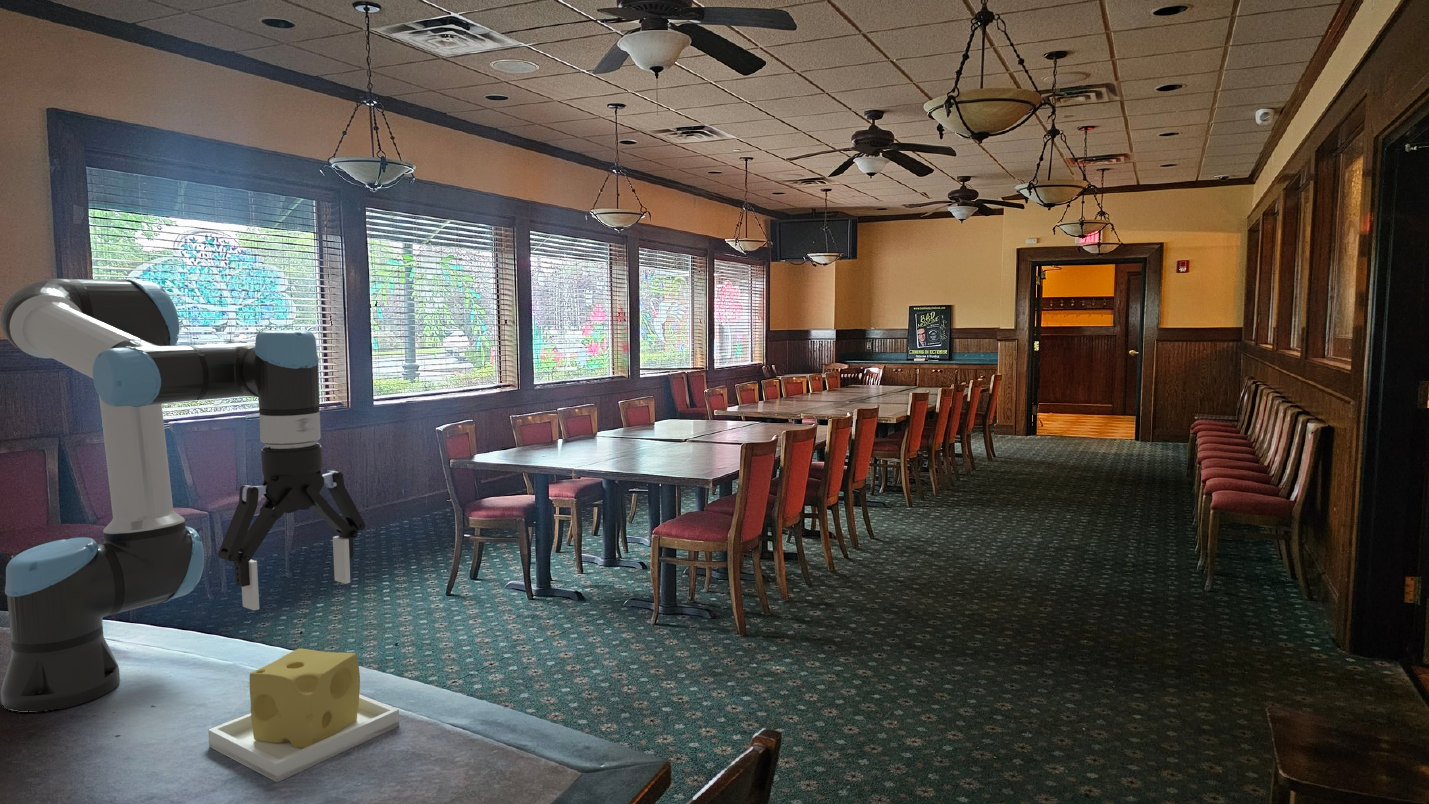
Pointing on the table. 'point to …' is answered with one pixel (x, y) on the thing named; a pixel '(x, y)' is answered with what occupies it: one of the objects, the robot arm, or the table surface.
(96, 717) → the table surface
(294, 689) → the cheese
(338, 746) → the serving tray
